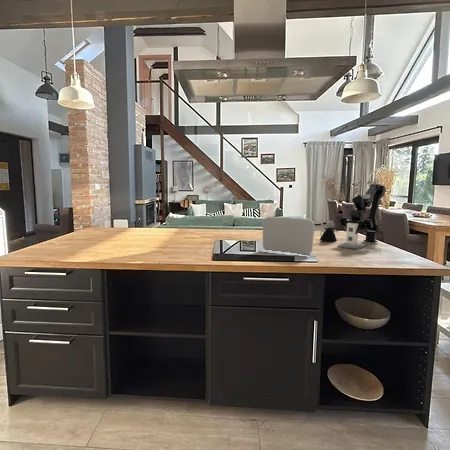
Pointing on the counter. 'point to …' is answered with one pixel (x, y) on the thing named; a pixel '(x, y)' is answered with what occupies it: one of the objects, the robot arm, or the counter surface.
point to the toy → (328, 232)
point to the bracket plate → (352, 246)
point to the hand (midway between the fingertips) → (351, 233)
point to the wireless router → (288, 235)
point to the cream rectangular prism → (352, 233)
